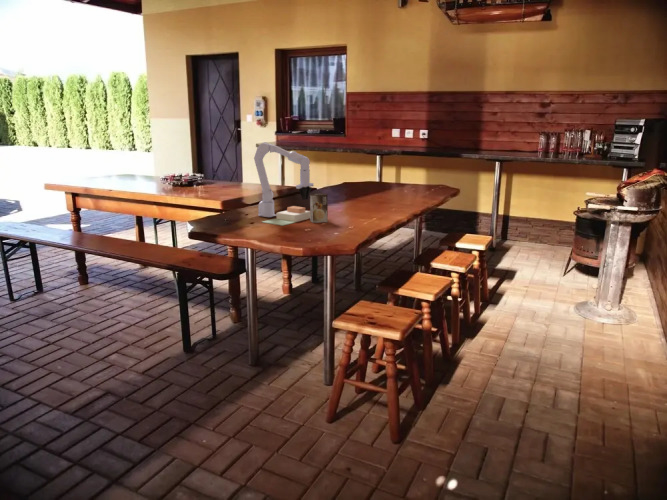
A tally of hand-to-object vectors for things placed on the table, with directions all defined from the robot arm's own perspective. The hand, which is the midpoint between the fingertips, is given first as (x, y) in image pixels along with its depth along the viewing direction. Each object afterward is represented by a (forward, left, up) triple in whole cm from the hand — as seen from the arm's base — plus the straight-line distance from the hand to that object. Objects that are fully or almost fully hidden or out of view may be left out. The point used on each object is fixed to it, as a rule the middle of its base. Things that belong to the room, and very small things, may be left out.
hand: (305, 199), depth 320 cm
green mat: (0, -25, -10) cm, 27 cm away
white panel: (0, -11, -10) cm, 15 cm away
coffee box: (+17, -9, -11) cm, 22 cm away
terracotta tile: (0, -9, -5) cm, 10 cm away
